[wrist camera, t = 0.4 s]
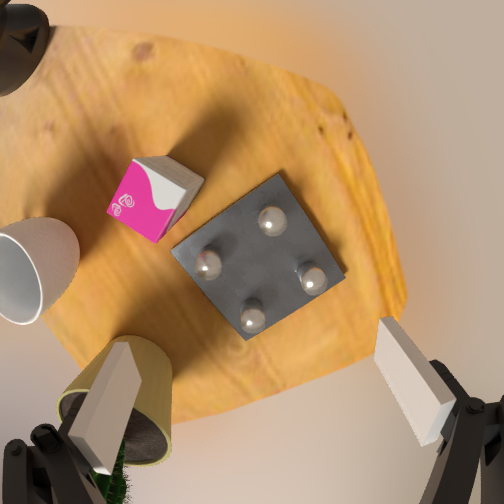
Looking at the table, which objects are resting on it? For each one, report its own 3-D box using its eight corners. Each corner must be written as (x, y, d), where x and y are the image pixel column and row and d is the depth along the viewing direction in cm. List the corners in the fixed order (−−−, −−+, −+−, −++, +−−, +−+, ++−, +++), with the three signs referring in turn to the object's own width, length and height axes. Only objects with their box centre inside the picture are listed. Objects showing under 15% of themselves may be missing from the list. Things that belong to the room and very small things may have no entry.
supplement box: (164, 153, 35) (133, 155, 24) (206, 178, 36) (191, 190, 25) (141, 194, 36) (104, 213, 25) (181, 219, 37) (158, 247, 26)
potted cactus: (168, 410, 47) (138, 565, 19) (87, 373, 45) (16, 513, 16) (201, 350, 43) (174, 549, 15) (105, 305, 41) (-4, 472, 12)
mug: (17, 270, 38) (-33, 306, 26) (13, 201, 35) (-46, 222, 23) (94, 287, 40) (50, 336, 27) (94, 210, 36) (38, 238, 24)
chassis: (171, 248, 38) (163, 261, 34) (277, 173, 36) (282, 175, 32) (245, 337, 43) (246, 356, 39) (343, 274, 40) (354, 289, 36)
